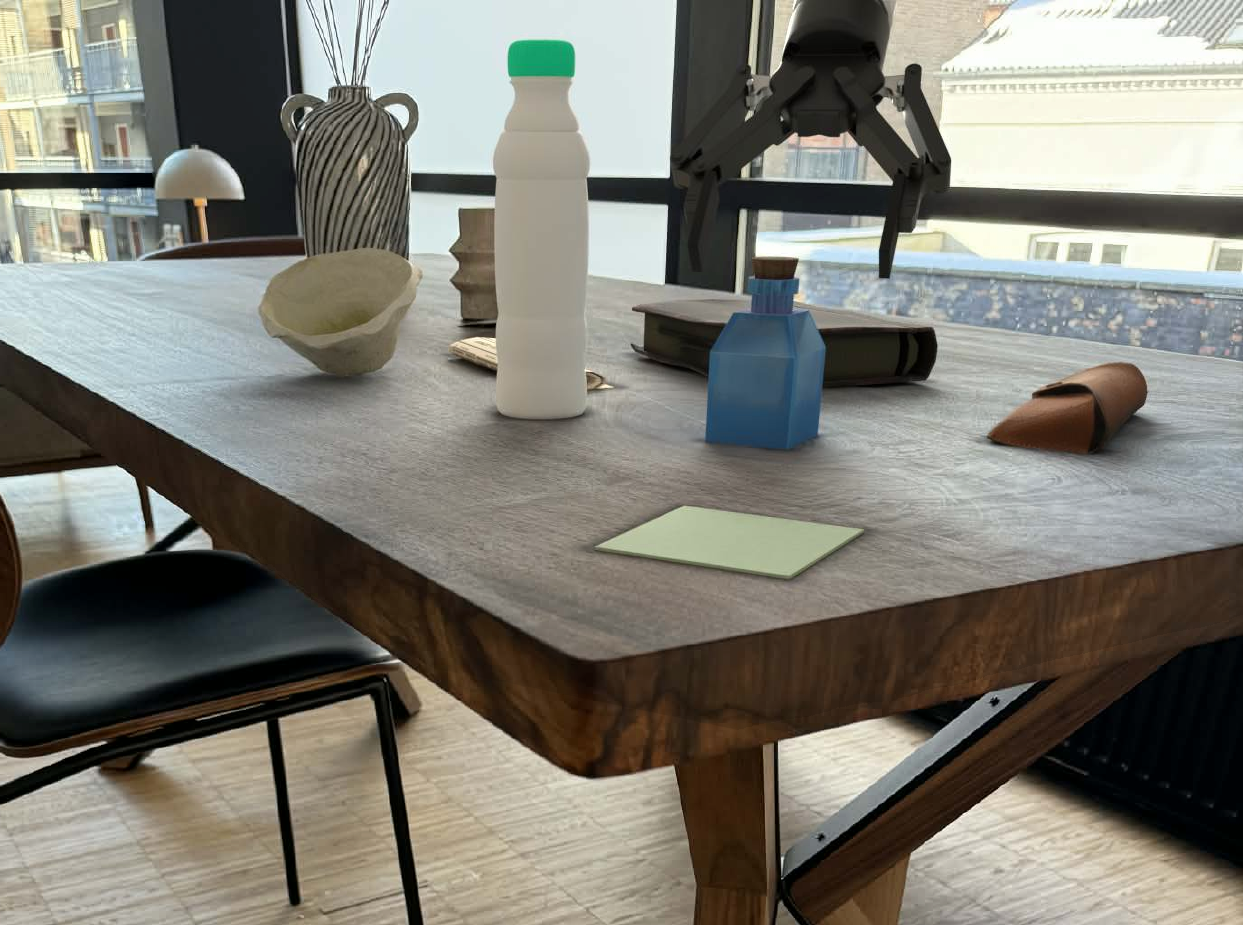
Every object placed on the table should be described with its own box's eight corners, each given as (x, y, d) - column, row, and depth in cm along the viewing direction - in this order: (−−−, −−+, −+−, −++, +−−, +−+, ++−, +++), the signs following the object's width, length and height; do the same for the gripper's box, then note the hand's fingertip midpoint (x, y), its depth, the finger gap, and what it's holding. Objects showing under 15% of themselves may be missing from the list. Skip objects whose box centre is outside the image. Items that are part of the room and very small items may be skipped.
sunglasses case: (1033, 401, 115) (1090, 327, 111) (1102, 455, 115) (1163, 383, 110) (981, 439, 101) (1044, 356, 97) (1060, 501, 101) (1127, 420, 96)
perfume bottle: (787, 453, 99) (802, 263, 93) (704, 444, 102) (715, 259, 96) (817, 438, 104) (834, 257, 98) (738, 430, 107) (750, 253, 101)
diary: (786, 348, 147) (790, 295, 144) (934, 383, 127) (941, 322, 124) (622, 356, 140) (624, 301, 138) (750, 396, 120) (755, 331, 118)
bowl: (232, 379, 127) (219, 255, 122) (314, 359, 138) (305, 244, 134) (380, 390, 122) (374, 261, 117) (453, 368, 133) (449, 250, 128)
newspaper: (449, 358, 139) (448, 338, 138) (516, 354, 142) (516, 335, 141) (540, 395, 120) (540, 372, 119) (617, 390, 123) (617, 368, 122)
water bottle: (515, 425, 108) (512, 36, 96) (483, 410, 114) (477, 41, 102) (600, 419, 110) (608, 39, 98) (565, 405, 116) (568, 43, 104)
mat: (863, 536, 79) (864, 529, 79) (789, 584, 71) (789, 576, 71) (683, 512, 84) (684, 505, 84) (594, 554, 76) (594, 546, 76)
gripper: (1009, 67, 107) (964, 305, 102) (684, 69, 114) (628, 292, 109) (1017, -23, 100) (970, 227, 95) (671, -16, 107) (610, 218, 102)
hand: (787, 262), depth 102 cm, fingers open, 13 cm apart
